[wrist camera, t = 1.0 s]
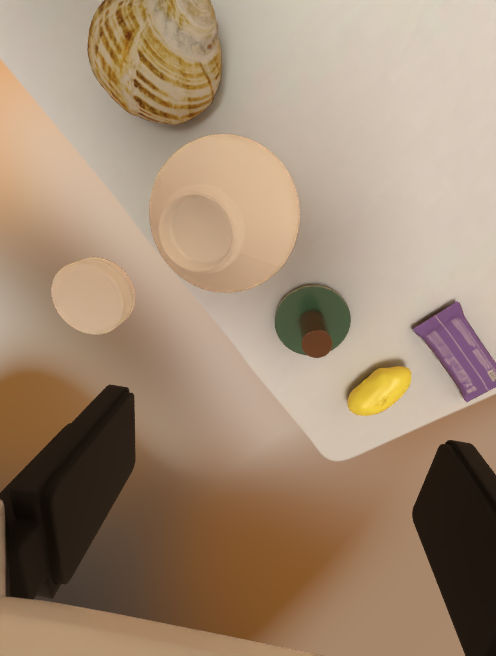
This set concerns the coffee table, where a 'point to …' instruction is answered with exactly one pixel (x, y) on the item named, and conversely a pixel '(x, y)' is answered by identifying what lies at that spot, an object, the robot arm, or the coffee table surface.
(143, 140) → the coffee table surface
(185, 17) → the seashell
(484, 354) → the snack package
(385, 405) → the lemon
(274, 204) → the water bottle
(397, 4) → the coffee table surface
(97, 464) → the robot arm
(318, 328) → the lid
